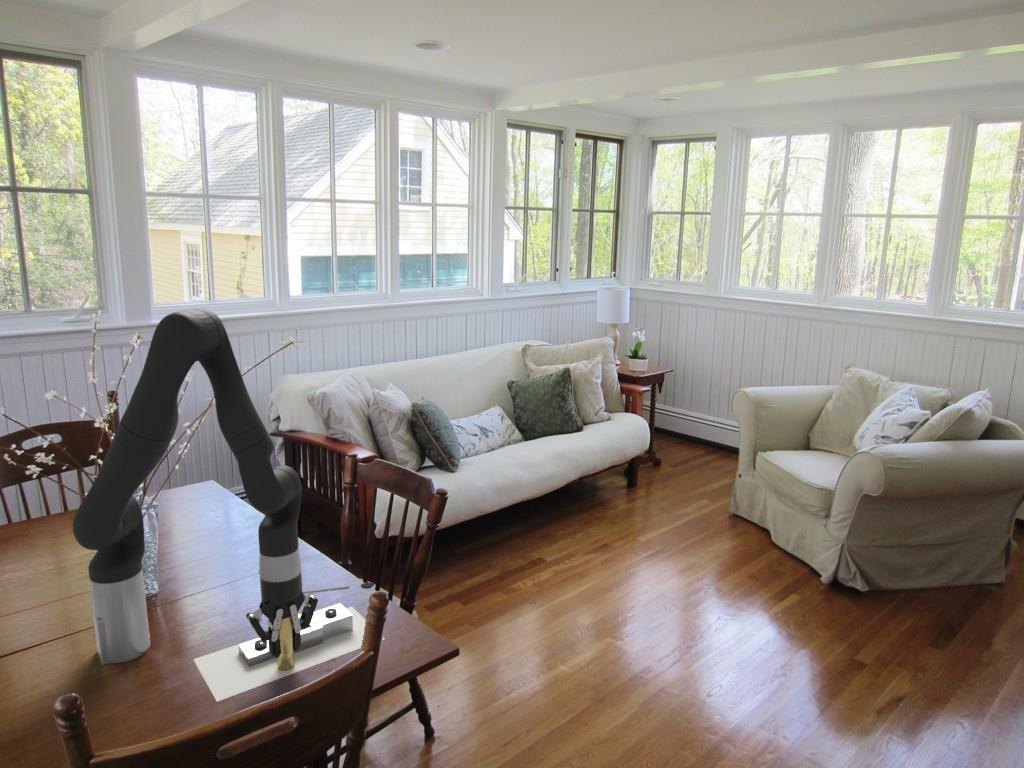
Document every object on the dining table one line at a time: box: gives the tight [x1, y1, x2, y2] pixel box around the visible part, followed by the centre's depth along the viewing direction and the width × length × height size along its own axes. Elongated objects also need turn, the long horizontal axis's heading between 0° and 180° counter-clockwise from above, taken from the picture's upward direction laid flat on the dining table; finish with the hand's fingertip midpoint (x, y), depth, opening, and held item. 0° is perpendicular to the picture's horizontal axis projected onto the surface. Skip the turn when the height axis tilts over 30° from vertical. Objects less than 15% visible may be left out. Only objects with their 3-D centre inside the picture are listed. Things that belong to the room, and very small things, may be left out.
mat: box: [192, 606, 386, 703], centre depth 148 cm, size 34×16×1 cm, turn 127°
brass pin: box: [277, 616, 295, 671], centre depth 141 cm, size 3×3×11 cm
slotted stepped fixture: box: [237, 602, 353, 667], centre depth 150 cm, size 22×8×4 cm, turn 127°
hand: (285, 651), depth 141 cm, fingers closed on brass pin, 3 cm apart
